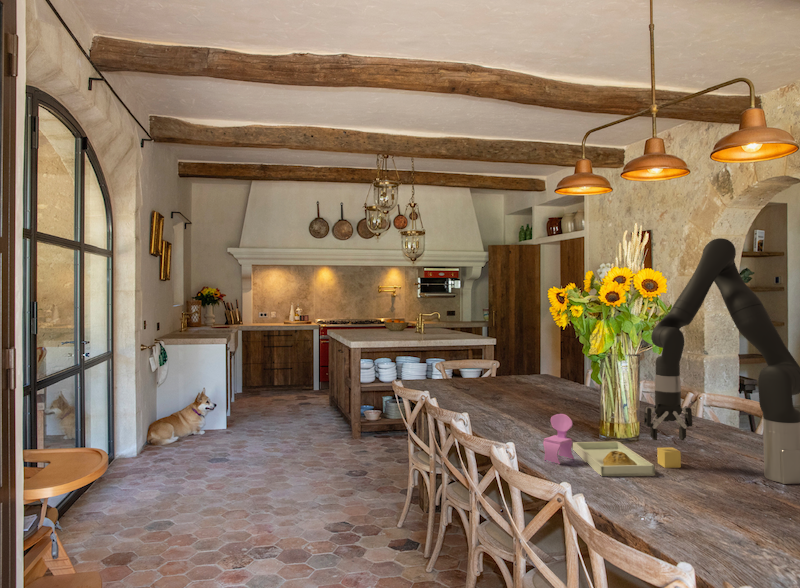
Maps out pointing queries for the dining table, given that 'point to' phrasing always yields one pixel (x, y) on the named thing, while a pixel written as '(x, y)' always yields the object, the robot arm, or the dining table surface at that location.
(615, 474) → the tray
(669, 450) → the block
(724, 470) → the dining table surface
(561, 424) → the toy chair
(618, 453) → the fossil
